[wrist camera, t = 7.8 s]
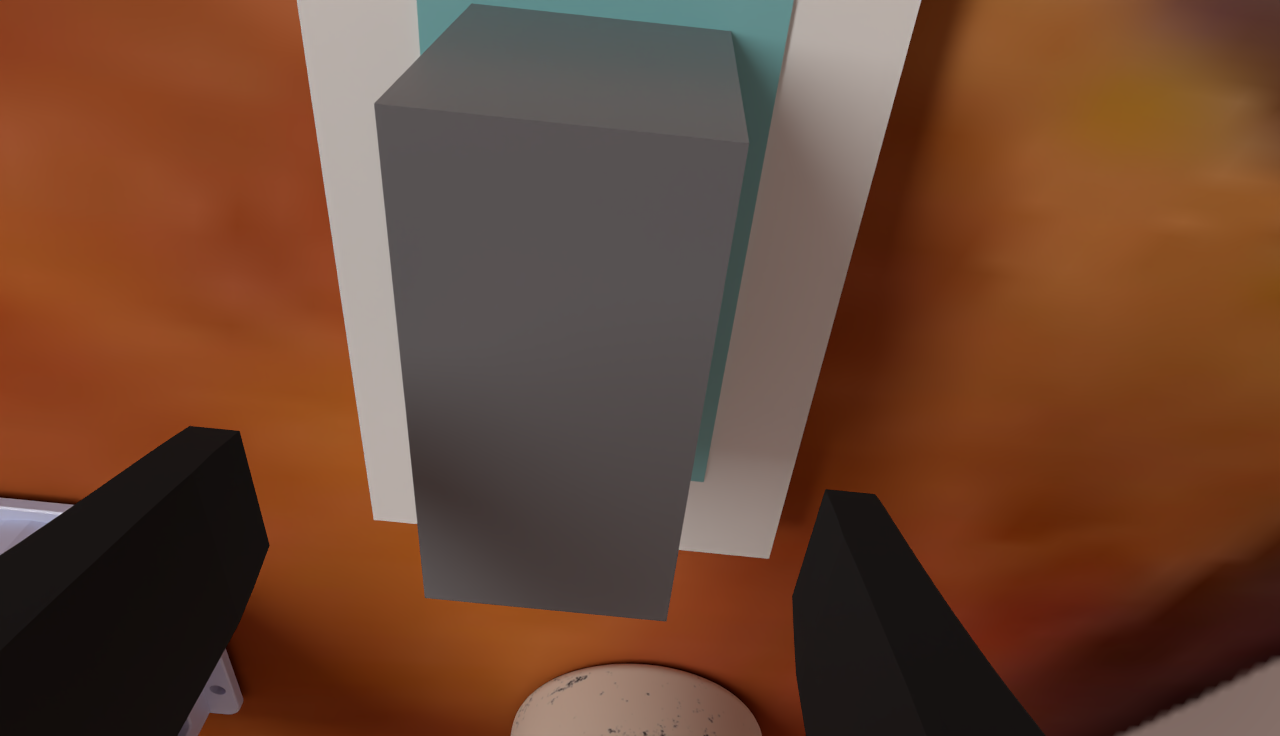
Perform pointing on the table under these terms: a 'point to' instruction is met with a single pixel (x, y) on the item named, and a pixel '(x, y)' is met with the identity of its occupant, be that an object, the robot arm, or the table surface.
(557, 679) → the teacup with lid
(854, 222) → the pin board
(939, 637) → the robot arm
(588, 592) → the block
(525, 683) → the table surface
